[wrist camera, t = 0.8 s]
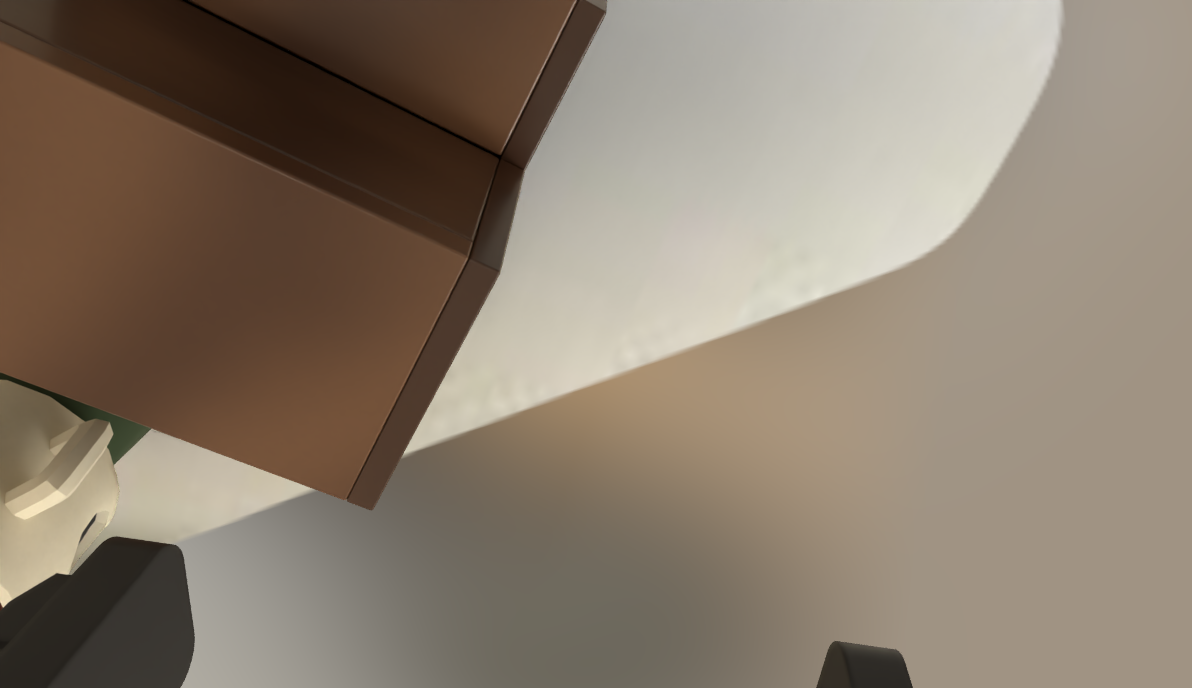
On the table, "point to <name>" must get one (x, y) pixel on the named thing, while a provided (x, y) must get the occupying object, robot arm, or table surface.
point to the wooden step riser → (266, 210)
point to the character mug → (53, 481)
